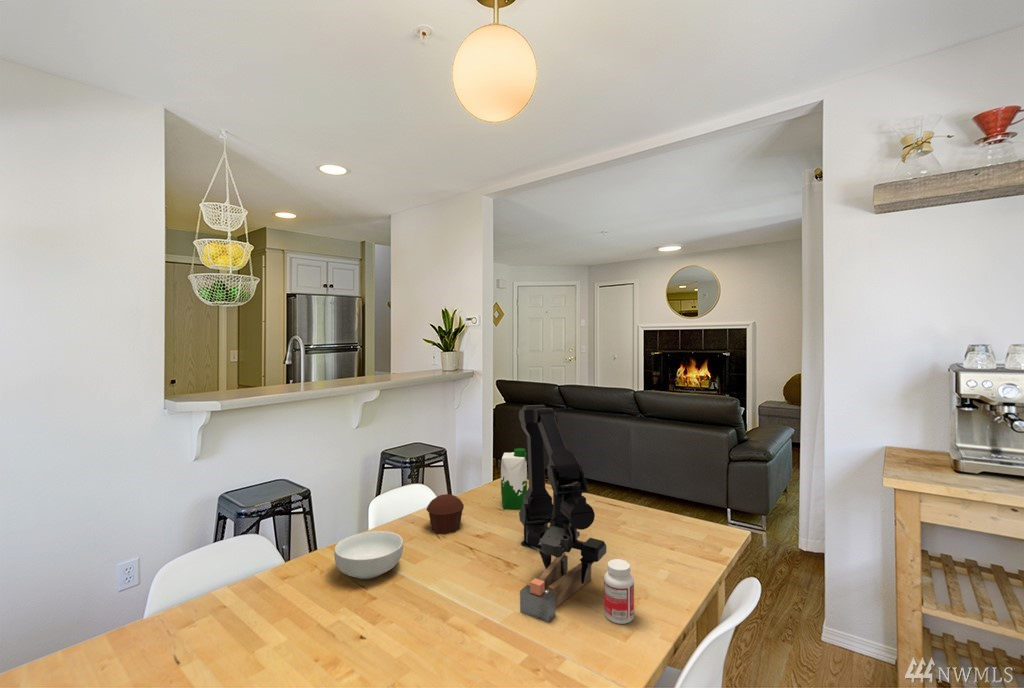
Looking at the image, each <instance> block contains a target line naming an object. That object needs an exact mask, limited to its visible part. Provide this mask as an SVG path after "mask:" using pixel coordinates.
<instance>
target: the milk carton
mask: <svg viewBox="0 0 1024 688" xmlns="http://www.w3.org/2000/svg"><path fill="white" fill-rule="evenodd" d="M526 451H527V450H526V448H524V447H517V448H514V450H513V451H512V452H503V455H502V457H501V465H500V495H501V502H502V509H503V510H519V511H520V510H521V507H522V505H523V504H524V495H525V493H526V492H527V490H528V466H527V465H528V461H527V453H526Z"/></svg>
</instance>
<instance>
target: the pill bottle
mask: <svg viewBox="0 0 1024 688" xmlns="http://www.w3.org/2000/svg"><path fill="white" fill-rule="evenodd" d="M634 582H635V580H634V577H633V575H632V574H631V564H630V563H629V562H628V561H627V560H625V559H621V558H615V559H611V560H609V561H608V562H607V571H606V572H605V573H604V576H603V599H604V601H603V606H604V607H603V608H604V609H603V610H604V615H605V617H606V618H607V620H609V621H610V622H612V623H615V624H619V625H620V624H622V625H623V624H624V625H625V624H628V623H630V622H632V621H633V620H634V618H635V583H634Z"/></svg>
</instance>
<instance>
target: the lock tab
mask: <svg viewBox="0 0 1024 688" xmlns="http://www.w3.org/2000/svg"><path fill="white" fill-rule="evenodd" d="M529 585H530V593H533V594H536V595H539V596H541V595H542V594H543V593H544V592H545V581H542V580H539V578H536V577H534V579H532V580H531V581H530V582H529Z"/></svg>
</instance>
